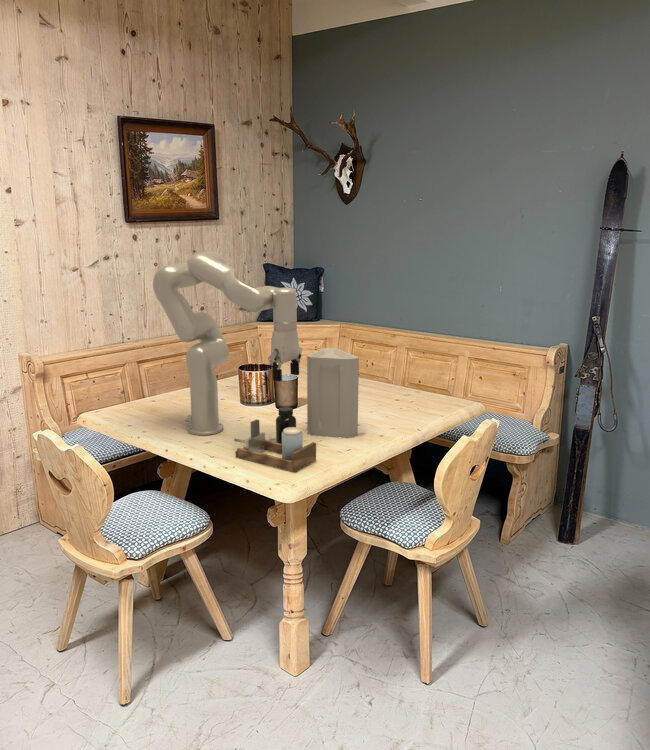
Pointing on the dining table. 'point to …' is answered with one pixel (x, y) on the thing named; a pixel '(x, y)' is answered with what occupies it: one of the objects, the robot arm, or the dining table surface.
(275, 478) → the dining table surface
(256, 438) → the pusher
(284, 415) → the supplement bottle
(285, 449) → the blue jar
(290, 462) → the brown wooden open box
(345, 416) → the grey corner cabinet
